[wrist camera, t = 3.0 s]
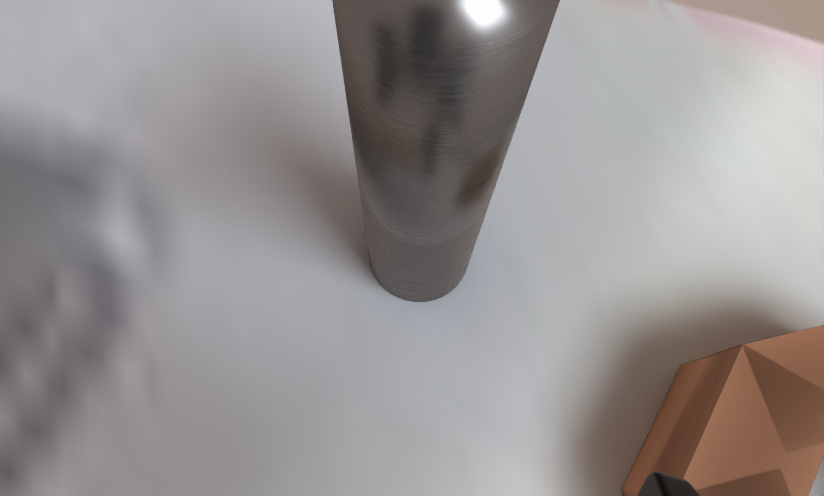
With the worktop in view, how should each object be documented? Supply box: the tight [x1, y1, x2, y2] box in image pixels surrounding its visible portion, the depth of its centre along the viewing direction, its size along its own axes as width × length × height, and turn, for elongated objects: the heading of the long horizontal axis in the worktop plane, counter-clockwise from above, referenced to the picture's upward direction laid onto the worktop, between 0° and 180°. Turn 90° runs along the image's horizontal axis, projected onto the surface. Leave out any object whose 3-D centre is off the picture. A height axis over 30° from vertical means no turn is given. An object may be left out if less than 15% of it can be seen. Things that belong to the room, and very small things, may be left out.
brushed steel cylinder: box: [332, 0, 560, 302], centre depth 15 cm, size 4×4×14 cm
